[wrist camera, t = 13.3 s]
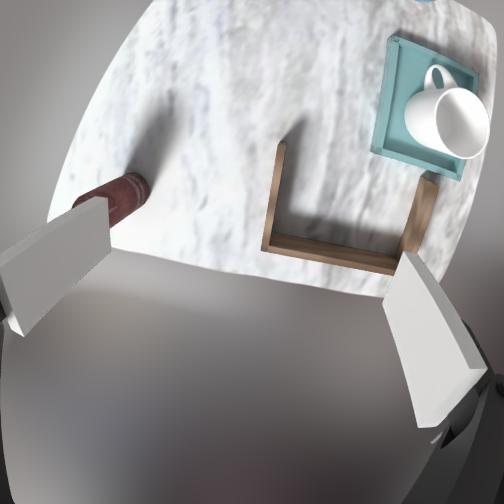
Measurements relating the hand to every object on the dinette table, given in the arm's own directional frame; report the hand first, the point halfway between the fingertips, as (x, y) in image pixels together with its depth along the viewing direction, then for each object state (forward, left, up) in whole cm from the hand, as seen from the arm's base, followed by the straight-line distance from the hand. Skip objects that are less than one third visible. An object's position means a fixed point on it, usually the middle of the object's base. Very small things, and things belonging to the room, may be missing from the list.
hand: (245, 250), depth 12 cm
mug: (-12, +20, -31) cm, 39 cm away
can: (+9, -23, -32) cm, 40 cm away
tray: (-12, +20, -32) cm, 39 cm away
